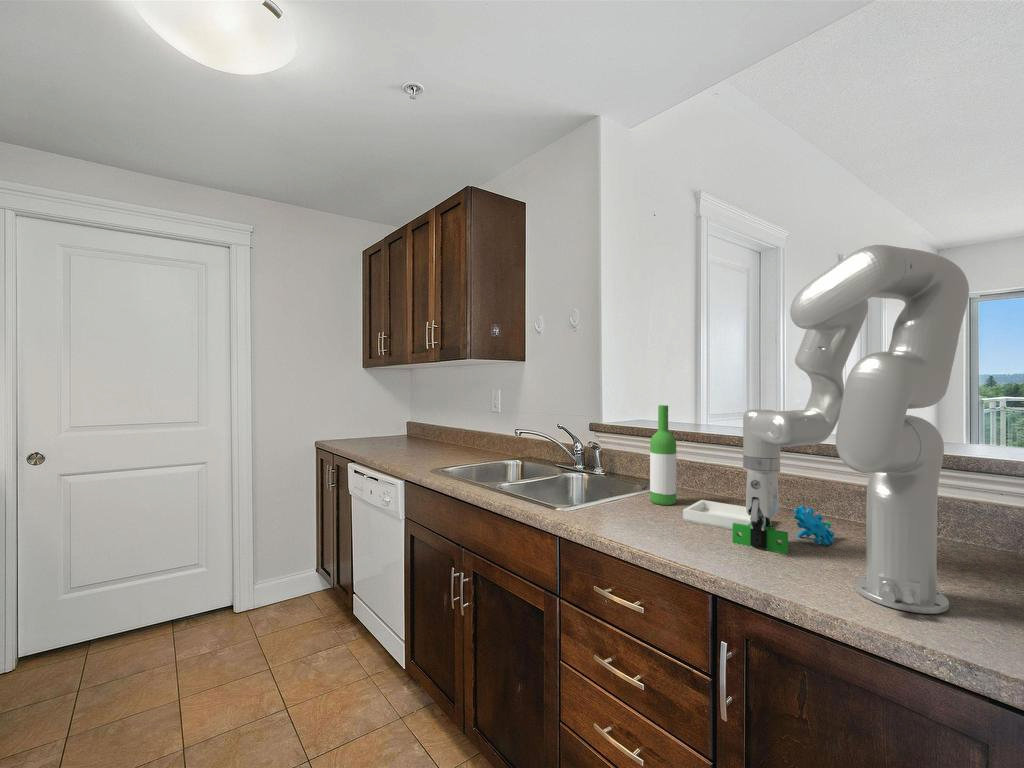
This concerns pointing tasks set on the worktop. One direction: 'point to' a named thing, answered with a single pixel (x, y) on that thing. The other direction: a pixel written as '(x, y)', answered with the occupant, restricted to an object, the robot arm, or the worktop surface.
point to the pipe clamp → (772, 537)
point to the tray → (716, 514)
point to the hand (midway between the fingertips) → (761, 543)
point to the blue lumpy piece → (813, 526)
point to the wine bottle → (663, 462)
